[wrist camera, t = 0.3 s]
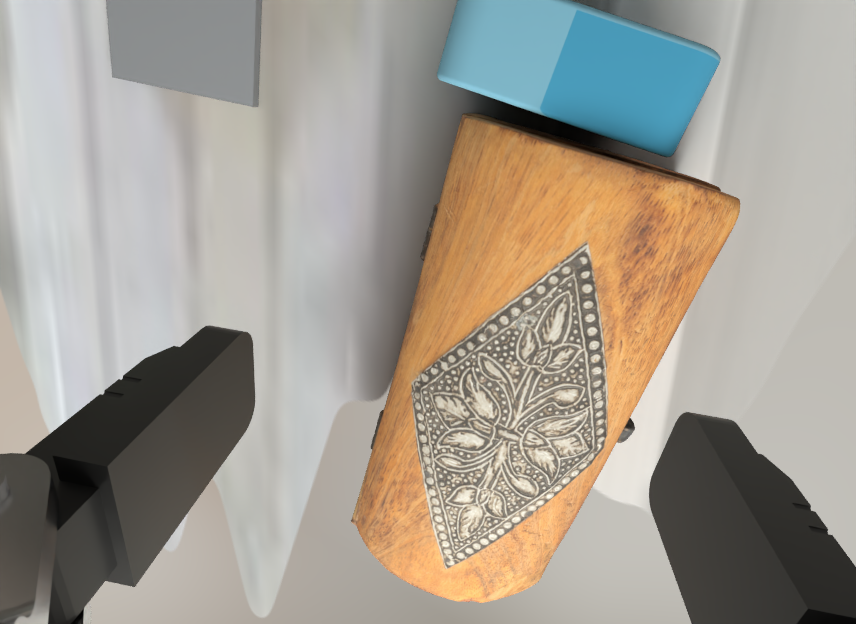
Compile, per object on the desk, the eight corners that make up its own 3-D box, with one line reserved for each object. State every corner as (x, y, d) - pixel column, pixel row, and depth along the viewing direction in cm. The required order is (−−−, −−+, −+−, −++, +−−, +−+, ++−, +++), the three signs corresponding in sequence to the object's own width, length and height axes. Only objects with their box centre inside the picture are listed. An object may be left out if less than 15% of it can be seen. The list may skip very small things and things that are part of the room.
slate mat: (106, -104, 32) (97, -109, 31) (264, -76, 31) (258, -80, 30) (120, 77, 37) (112, 77, 36) (258, 106, 36) (252, 106, 35)
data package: (457, 86, 33) (430, 76, 22) (480, 12, 31) (462, -38, 20) (624, 143, 33) (680, 162, 22) (657, 72, 31) (736, 54, 20)
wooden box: (545, 492, 46) (557, 640, 33) (378, 437, 46) (328, 562, 34) (703, 177, 33) (820, 220, 20) (471, 108, 34) (447, 109, 21)
